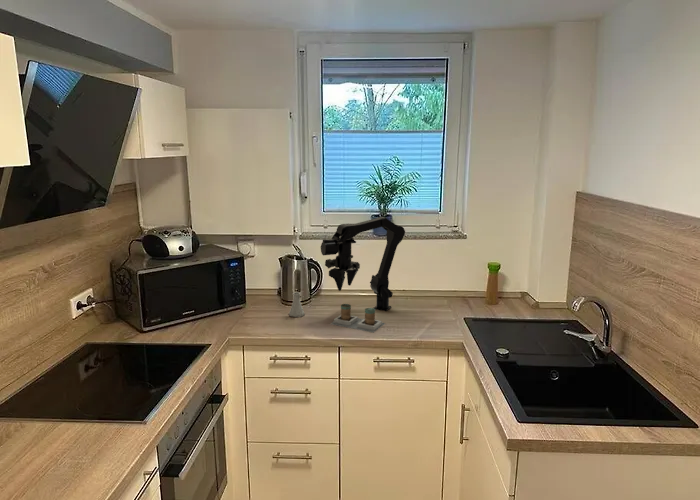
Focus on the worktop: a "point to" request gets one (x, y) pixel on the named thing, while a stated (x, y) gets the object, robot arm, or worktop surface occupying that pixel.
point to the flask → (296, 306)
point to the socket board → (357, 324)
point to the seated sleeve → (370, 316)
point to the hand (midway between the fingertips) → (344, 287)
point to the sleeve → (346, 312)
